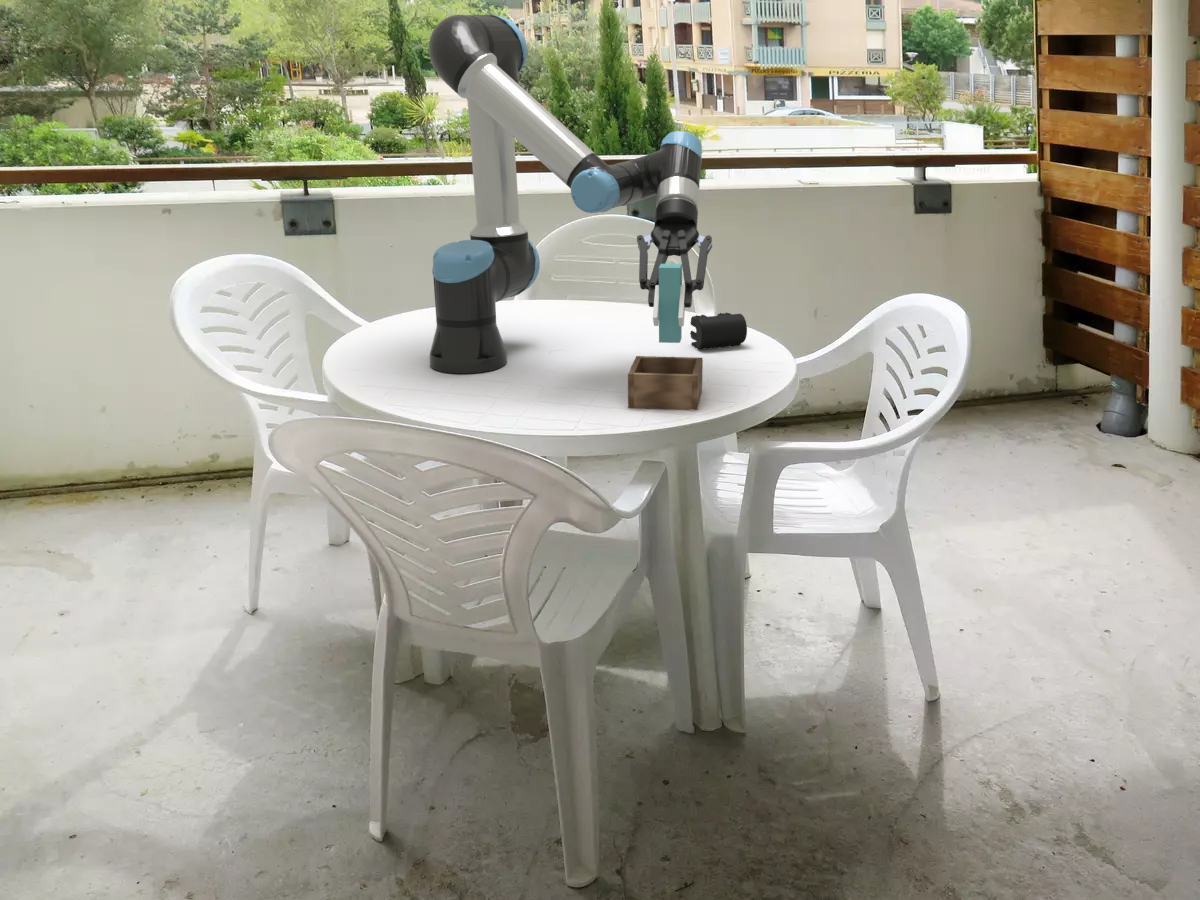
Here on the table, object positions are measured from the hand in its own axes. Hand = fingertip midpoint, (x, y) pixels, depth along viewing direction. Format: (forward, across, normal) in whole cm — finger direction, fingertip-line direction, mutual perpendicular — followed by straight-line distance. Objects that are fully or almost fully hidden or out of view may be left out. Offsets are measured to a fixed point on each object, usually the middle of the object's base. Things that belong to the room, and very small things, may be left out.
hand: (668, 321), depth 199 cm
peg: (0, 0, -6) cm, 6 cm away
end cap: (-18, -6, -40) cm, 44 cm away
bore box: (+8, +1, -13) cm, 15 cm away
